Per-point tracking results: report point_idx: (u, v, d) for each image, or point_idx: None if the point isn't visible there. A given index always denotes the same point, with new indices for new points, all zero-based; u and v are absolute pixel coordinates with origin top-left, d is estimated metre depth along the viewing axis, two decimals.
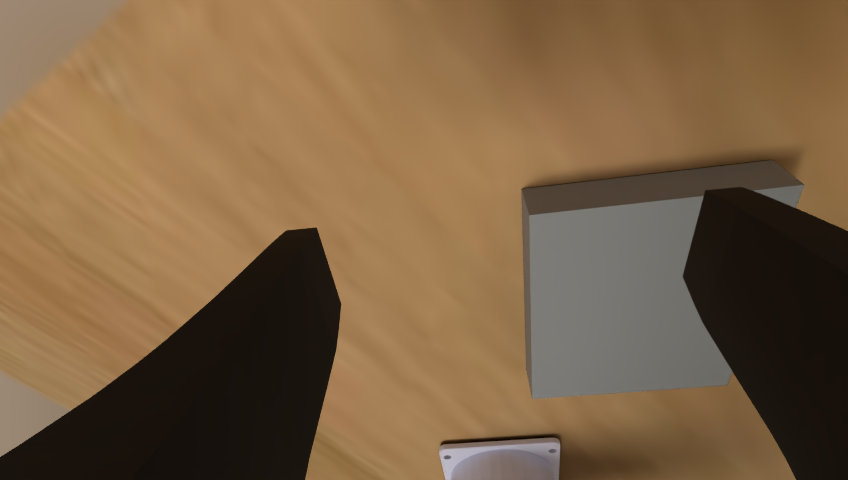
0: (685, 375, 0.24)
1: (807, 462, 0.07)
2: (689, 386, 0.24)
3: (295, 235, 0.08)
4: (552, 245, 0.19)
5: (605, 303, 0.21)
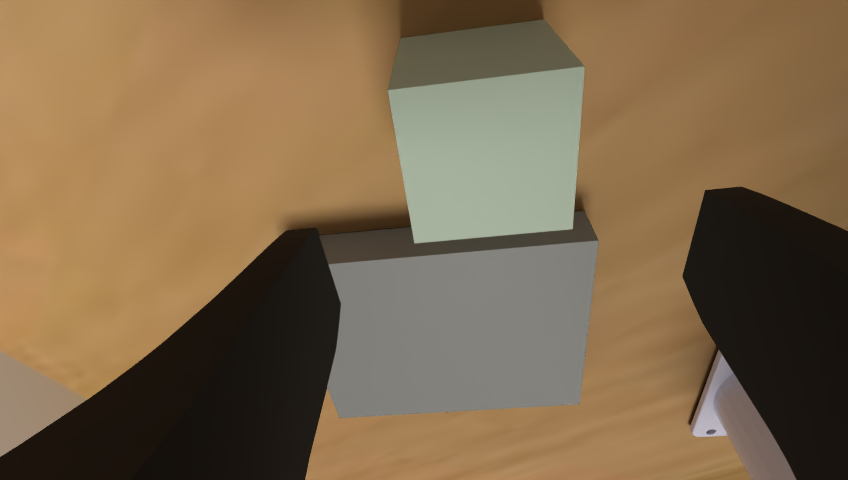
0: (563, 289, 0.18)
1: (807, 462, 0.07)
2: (590, 280, 0.18)
3: (295, 235, 0.08)
4: (366, 405, 0.23)
5: (434, 370, 0.21)
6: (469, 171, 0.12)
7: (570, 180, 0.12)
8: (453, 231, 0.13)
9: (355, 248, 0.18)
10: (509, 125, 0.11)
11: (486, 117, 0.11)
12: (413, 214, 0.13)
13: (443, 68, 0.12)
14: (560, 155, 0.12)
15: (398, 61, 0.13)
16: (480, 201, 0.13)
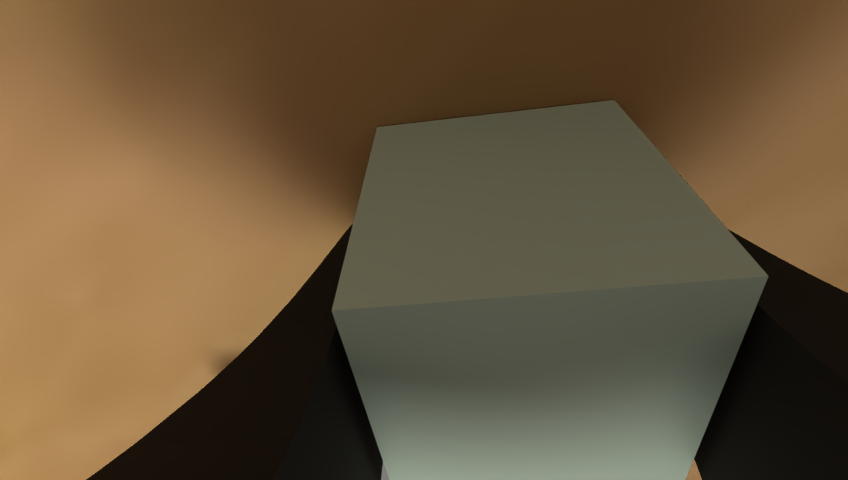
0: None
1: (710, 466, 0.07)
2: None
3: None
4: None
5: None
6: (498, 424, 0.06)
7: (692, 437, 0.06)
8: None
9: None
10: (584, 364, 0.06)
11: (539, 353, 0.05)
12: (394, 472, 0.07)
13: (450, 236, 0.06)
14: (680, 405, 0.06)
15: (366, 198, 0.07)
16: (518, 459, 0.07)
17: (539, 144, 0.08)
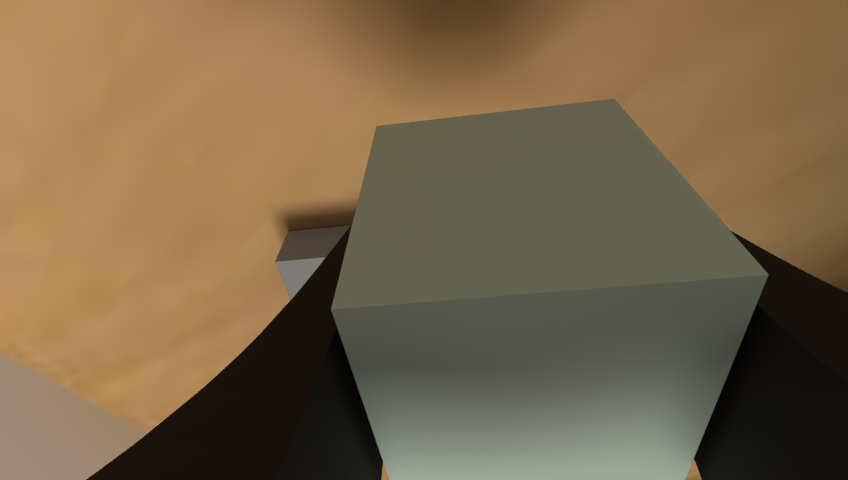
0: None
1: (710, 466, 0.07)
2: None
3: None
4: None
5: None
6: (498, 423, 0.06)
7: (691, 436, 0.06)
8: None
9: None
10: (584, 363, 0.06)
11: (539, 351, 0.05)
12: (394, 471, 0.07)
13: (450, 234, 0.06)
14: (680, 404, 0.06)
15: (366, 197, 0.07)
16: (518, 458, 0.07)
17: (539, 143, 0.08)
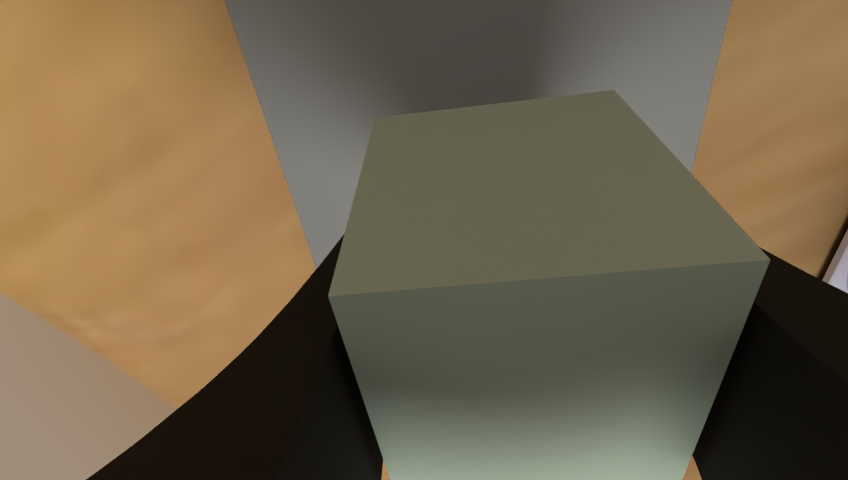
0: (681, 12, 0.11)
1: (710, 466, 0.07)
2: None
3: None
4: None
5: None
6: (497, 413, 0.06)
7: (692, 427, 0.06)
8: None
9: None
10: (583, 352, 0.05)
11: (537, 339, 0.05)
12: (392, 463, 0.07)
13: (449, 222, 0.06)
14: (681, 394, 0.06)
15: (364, 186, 0.07)
16: (516, 449, 0.07)
17: (538, 133, 0.08)
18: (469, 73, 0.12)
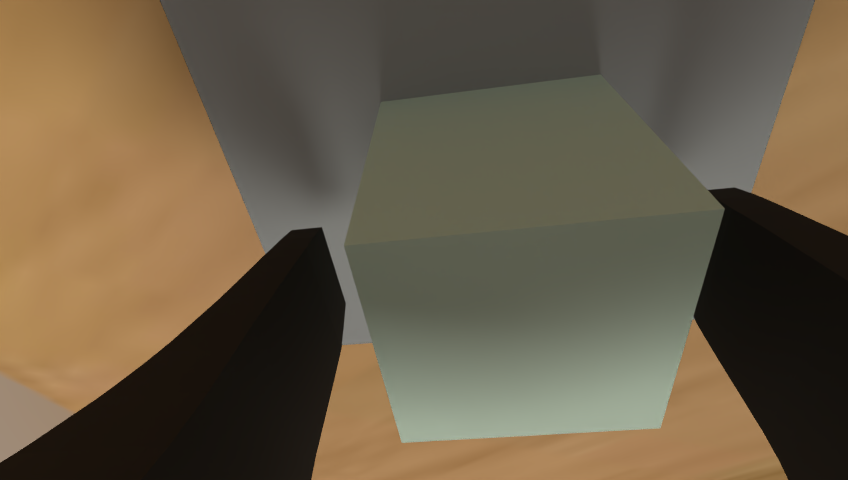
0: (742, 41, 0.09)
1: (799, 462, 0.07)
2: (804, 13, 0.09)
3: (301, 234, 0.08)
4: (348, 323, 0.14)
5: None
6: (491, 358, 0.07)
7: (667, 370, 0.07)
8: (464, 429, 0.08)
9: None
10: (567, 297, 0.06)
11: (527, 286, 0.06)
12: (398, 409, 0.08)
13: (448, 187, 0.07)
14: (655, 338, 0.07)
15: (372, 158, 0.08)
16: (511, 395, 0.08)
17: (530, 112, 0.08)
18: None
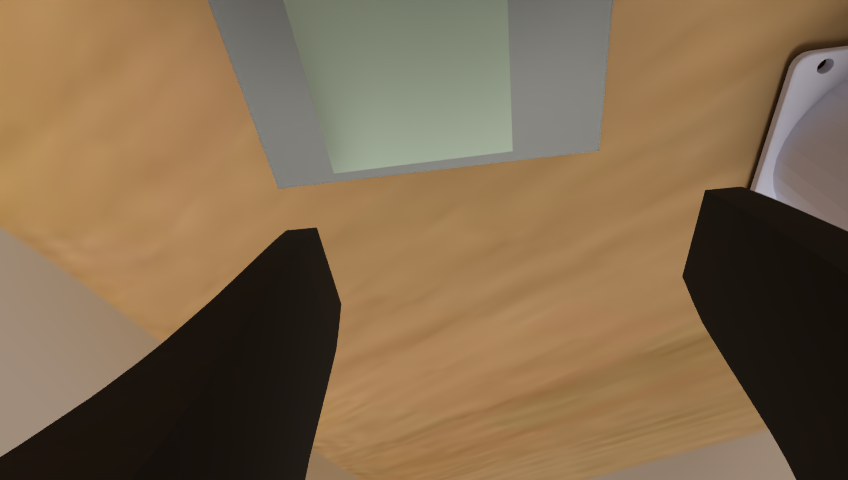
0: None
1: (807, 462, 0.07)
2: None
3: (295, 235, 0.08)
4: (312, 162, 0.17)
5: None
6: (384, 79, 0.10)
7: (503, 87, 0.10)
8: (376, 157, 0.12)
9: None
10: (424, 16, 0.10)
11: (396, 6, 0.10)
12: (327, 136, 0.11)
13: None
14: (488, 55, 0.10)
15: None
16: (403, 117, 0.11)
17: None
18: None
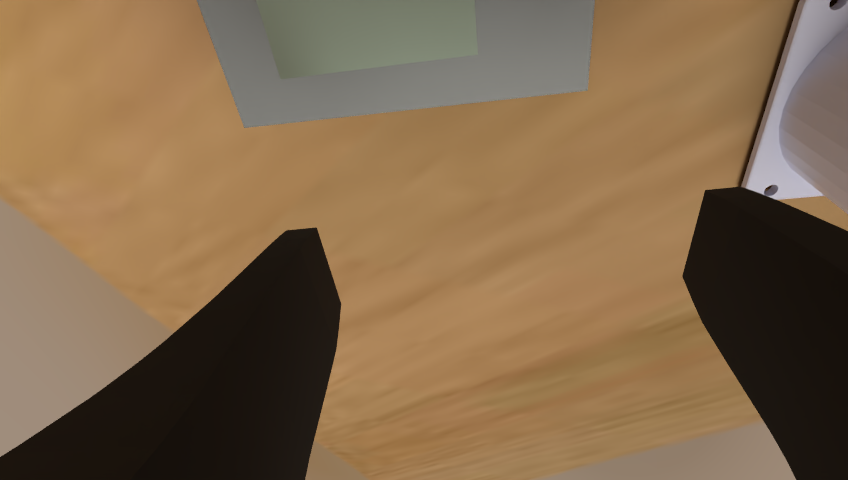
0: None
1: (807, 462, 0.07)
2: None
3: (295, 235, 0.08)
4: (279, 98, 0.16)
5: None
6: None
7: None
8: (326, 59, 0.10)
9: None
10: None
11: None
12: (271, 32, 0.10)
13: None
14: None
15: None
16: (353, 9, 0.10)
17: None
18: None
